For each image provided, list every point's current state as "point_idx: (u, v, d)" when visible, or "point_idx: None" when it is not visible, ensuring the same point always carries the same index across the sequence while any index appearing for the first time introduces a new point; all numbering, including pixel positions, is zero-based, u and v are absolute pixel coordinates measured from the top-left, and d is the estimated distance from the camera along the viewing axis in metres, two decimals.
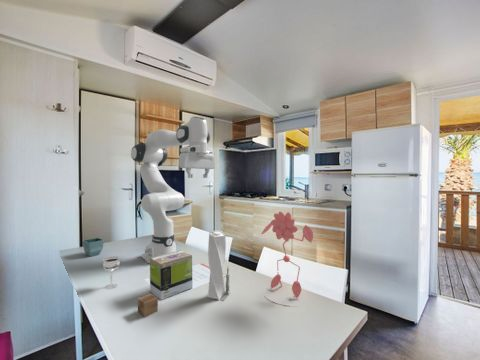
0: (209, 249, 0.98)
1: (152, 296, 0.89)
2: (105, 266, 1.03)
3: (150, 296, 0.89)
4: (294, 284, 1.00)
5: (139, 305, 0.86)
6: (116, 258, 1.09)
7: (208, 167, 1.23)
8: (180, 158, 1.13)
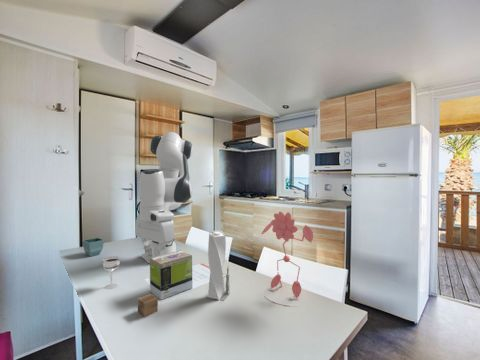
0: (209, 249, 0.98)
1: (152, 296, 0.89)
2: (105, 266, 1.03)
3: (150, 296, 0.89)
4: (294, 284, 1.00)
5: (139, 305, 0.86)
6: (116, 258, 1.09)
7: None
8: (165, 231, 0.81)
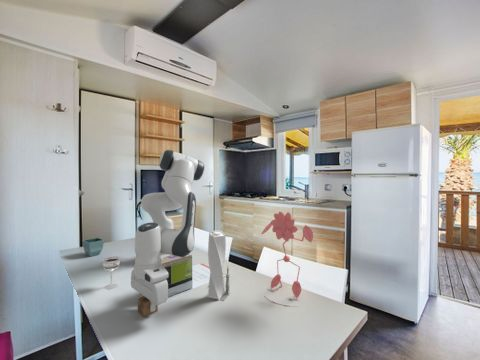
0: (209, 249, 0.98)
1: None
2: (105, 266, 1.03)
3: None
4: (294, 284, 1.00)
5: (139, 305, 0.86)
6: (116, 258, 1.09)
7: None
8: (159, 293, 0.80)
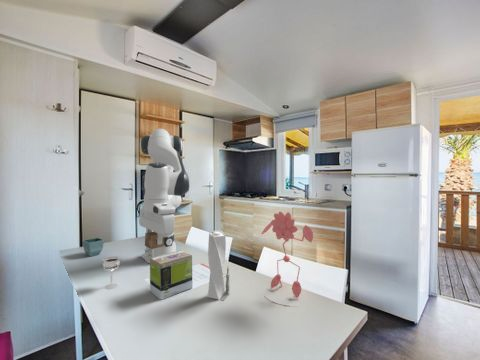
0: (209, 249, 0.98)
1: None
2: (105, 266, 1.03)
3: None
4: (294, 284, 1.00)
5: (146, 238, 0.91)
6: (116, 258, 1.09)
7: None
8: (166, 224, 0.84)
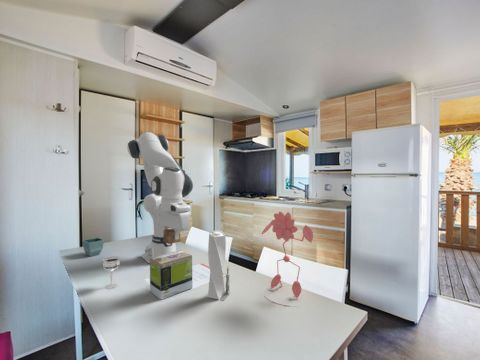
0: (209, 249, 0.98)
1: None
2: (105, 266, 1.03)
3: (173, 229, 1.05)
4: (294, 284, 1.00)
5: (165, 235, 1.02)
6: (116, 258, 1.09)
7: None
8: (183, 220, 0.96)
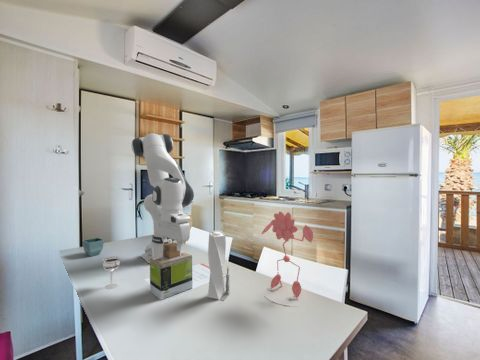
0: (209, 249, 0.98)
1: (175, 243, 1.05)
2: (105, 266, 1.03)
3: (173, 243, 1.05)
4: (294, 284, 1.00)
5: (164, 250, 1.03)
6: (116, 258, 1.09)
7: None
8: (183, 231, 0.96)
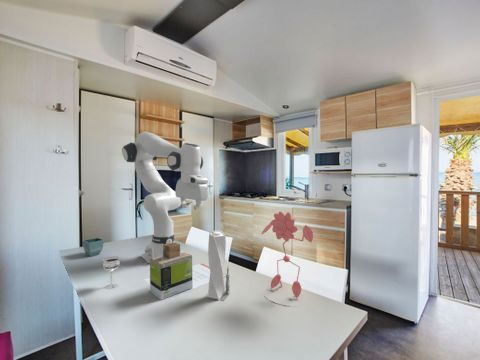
0: (209, 249, 0.98)
1: (175, 243, 1.05)
2: (105, 266, 1.03)
3: (173, 243, 1.05)
4: (294, 284, 1.00)
5: (164, 250, 1.02)
6: (116, 258, 1.09)
7: None
8: (202, 191, 1.04)
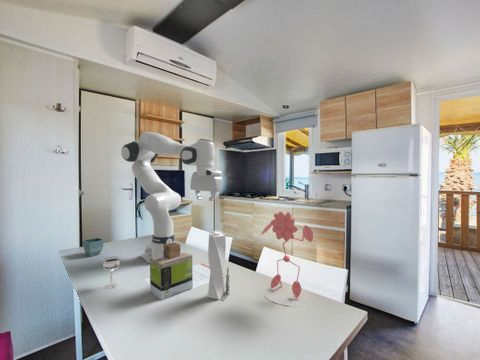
0: (209, 249, 0.98)
1: (175, 243, 1.05)
2: (105, 266, 1.03)
3: (173, 243, 1.05)
4: (294, 284, 1.00)
5: (165, 250, 1.02)
6: (116, 258, 1.09)
7: None
8: (217, 182, 1.12)
